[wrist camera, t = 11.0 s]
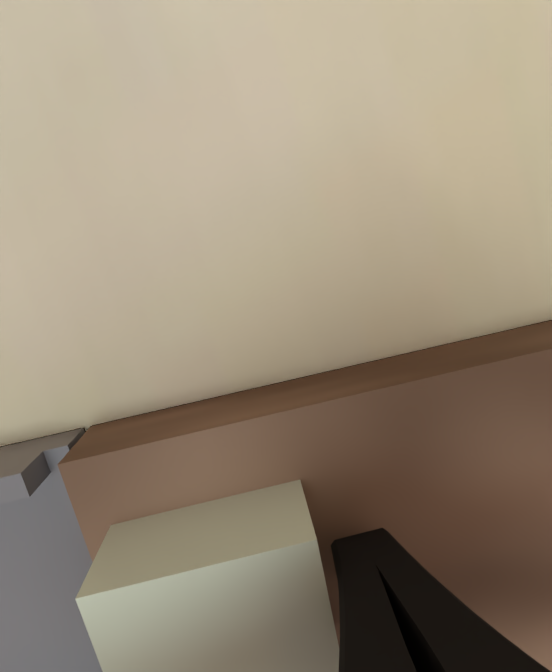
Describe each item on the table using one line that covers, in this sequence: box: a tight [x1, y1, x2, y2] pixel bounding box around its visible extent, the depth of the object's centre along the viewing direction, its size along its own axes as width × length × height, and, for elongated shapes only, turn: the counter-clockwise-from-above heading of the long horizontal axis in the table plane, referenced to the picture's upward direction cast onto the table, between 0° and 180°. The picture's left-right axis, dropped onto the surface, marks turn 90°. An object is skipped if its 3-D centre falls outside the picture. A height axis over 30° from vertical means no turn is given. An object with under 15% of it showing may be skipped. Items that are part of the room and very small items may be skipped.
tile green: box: [75, 480, 339, 672], centre depth 9 cm, size 4×4×2 cm
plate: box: [57, 320, 552, 672], centre depth 11 cm, size 14×14×2 cm
